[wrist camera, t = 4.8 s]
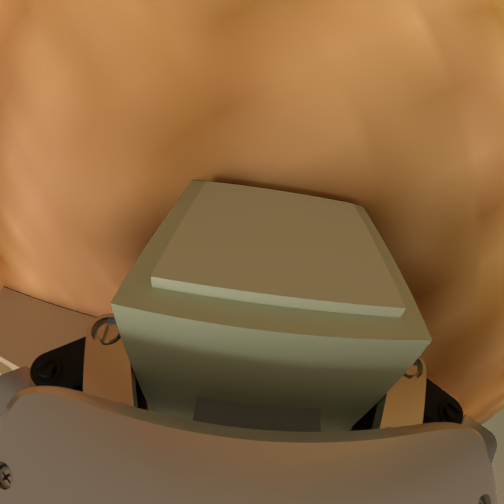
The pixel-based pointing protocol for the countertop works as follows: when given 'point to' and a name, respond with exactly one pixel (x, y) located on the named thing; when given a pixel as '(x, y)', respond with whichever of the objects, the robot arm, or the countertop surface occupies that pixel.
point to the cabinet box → (267, 311)
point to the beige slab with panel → (34, 328)
